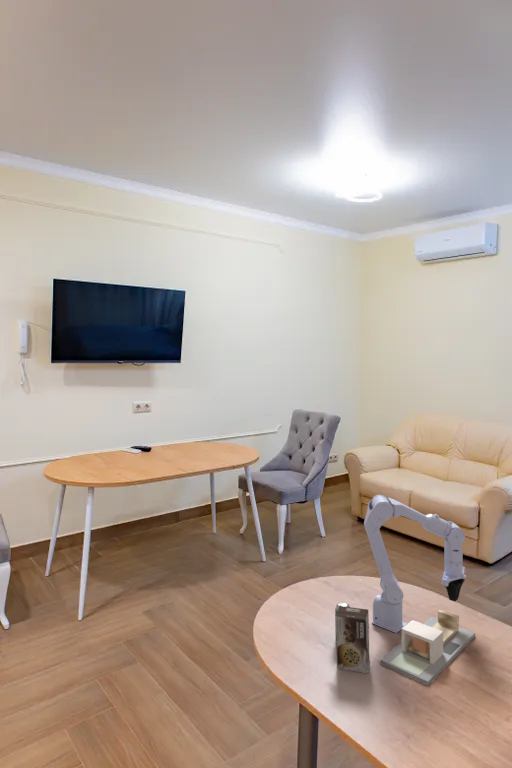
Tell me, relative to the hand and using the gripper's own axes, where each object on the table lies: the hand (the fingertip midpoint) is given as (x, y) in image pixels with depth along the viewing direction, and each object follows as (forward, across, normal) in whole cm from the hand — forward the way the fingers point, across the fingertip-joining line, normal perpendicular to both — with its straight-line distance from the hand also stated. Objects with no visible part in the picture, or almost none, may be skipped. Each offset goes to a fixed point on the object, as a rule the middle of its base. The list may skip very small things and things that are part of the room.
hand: (453, 599), depth 167 cm
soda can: (+10, -33, +22) cm, 41 cm away
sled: (+8, -15, 0) cm, 16 cm away
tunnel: (+8, -23, 0) cm, 24 cm away
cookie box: (+10, -41, +13) cm, 44 cm away
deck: (+9, -18, 0) cm, 20 cm away
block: (+7, -23, 0) cm, 24 cm away
